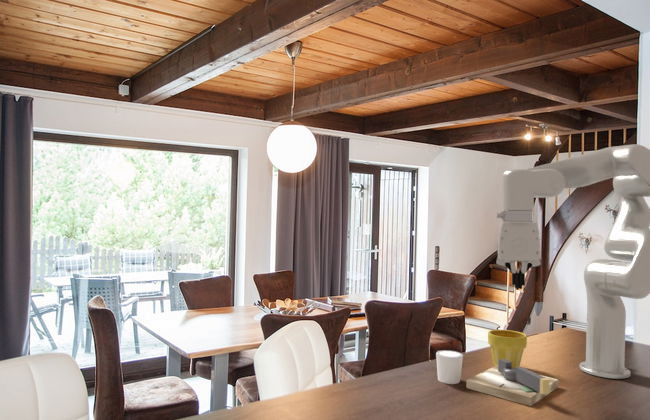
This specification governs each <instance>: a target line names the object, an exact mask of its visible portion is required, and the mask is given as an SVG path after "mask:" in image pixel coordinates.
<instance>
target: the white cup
mask: <svg viewBox="0 0 650 420" xmlns="http://www.w3.org/2000/svg"><path fill="white" fill-rule="evenodd" d="M435 358H436V371H437V372H436V373H437V380H438V381H439V382H441V383H443V384H448V385H455V384H459V383H460V382H461V375H462V366H463V360H464V359H463V358H464V354H463V353H461V352H459V351H456V350H446V349H445V350H444V349H443V350H437V351H436V353H435Z"/></svg>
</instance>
